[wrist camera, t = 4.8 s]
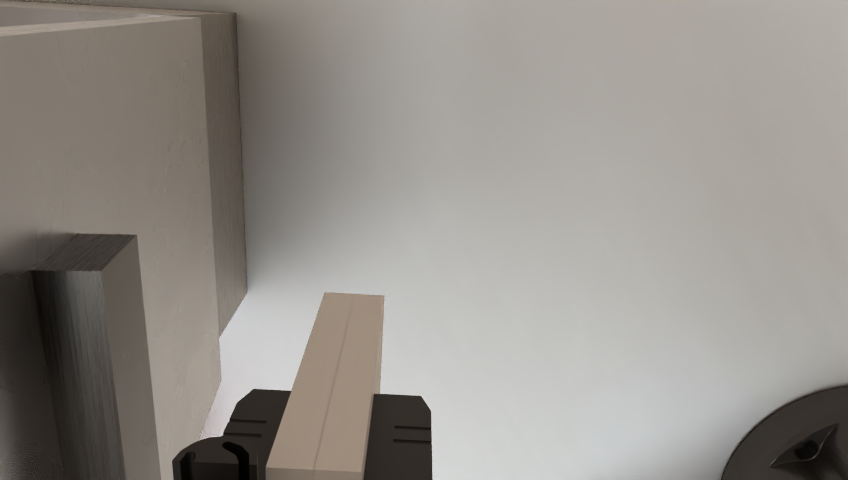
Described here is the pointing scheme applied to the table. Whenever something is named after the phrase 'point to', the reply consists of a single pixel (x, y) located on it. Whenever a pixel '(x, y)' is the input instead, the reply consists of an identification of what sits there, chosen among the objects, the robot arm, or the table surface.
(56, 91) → the lid
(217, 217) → the grey rectangular box
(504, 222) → the table surface
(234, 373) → the table surface
